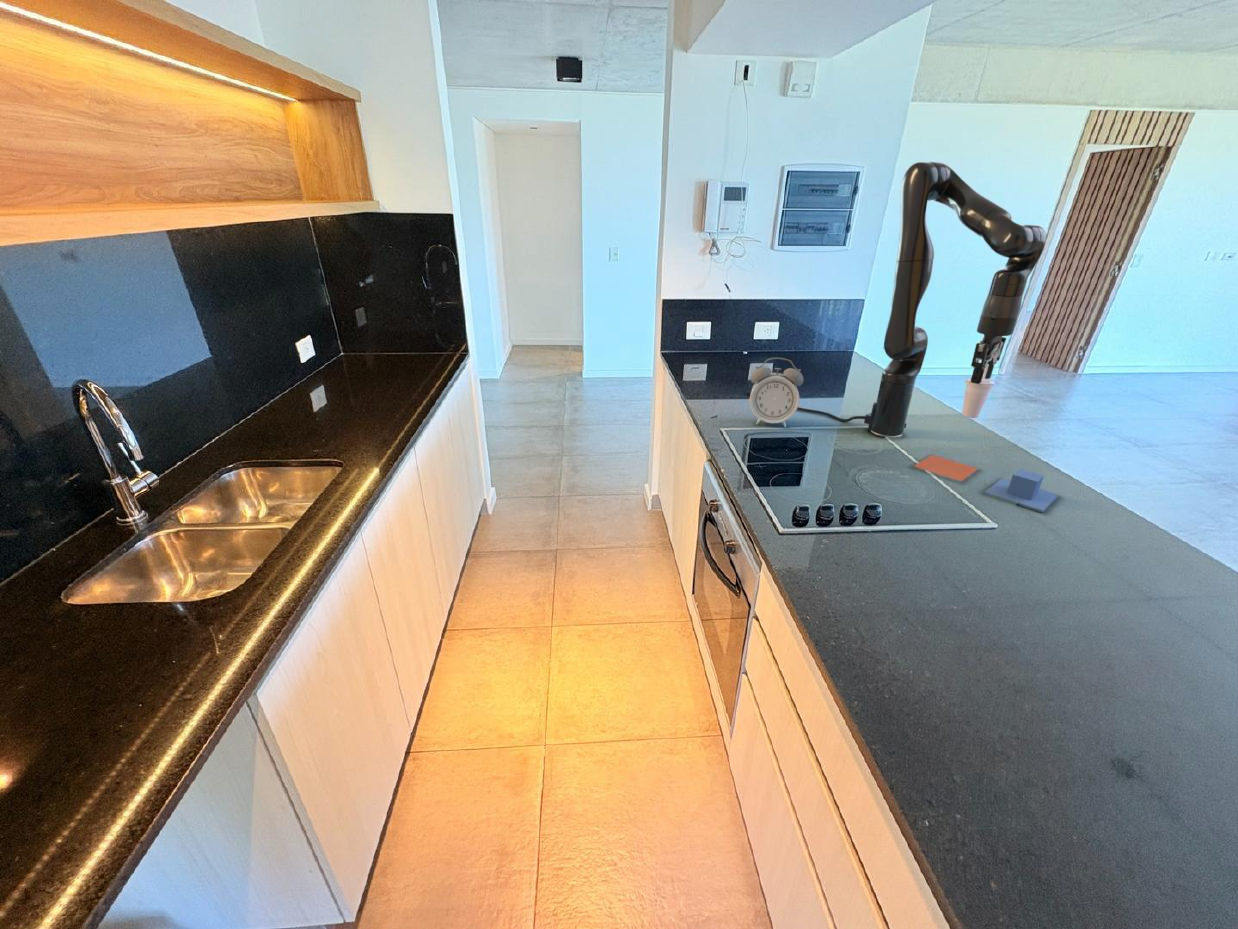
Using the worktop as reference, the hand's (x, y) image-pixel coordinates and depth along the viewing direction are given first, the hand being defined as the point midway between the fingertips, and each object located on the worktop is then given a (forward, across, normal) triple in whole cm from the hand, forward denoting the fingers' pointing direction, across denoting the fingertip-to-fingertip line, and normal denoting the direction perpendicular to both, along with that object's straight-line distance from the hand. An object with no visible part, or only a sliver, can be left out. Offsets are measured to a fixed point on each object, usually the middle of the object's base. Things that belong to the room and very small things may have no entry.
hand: (980, 380), depth 136 cm
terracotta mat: (+24, +6, 0) cm, 24 cm away
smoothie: (+10, 0, 0) cm, 10 cm away
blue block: (+23, +8, +18) cm, 30 cm away
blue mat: (+24, +9, +18) cm, 31 cm away
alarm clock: (+24, +12, -52) cm, 59 cm away
